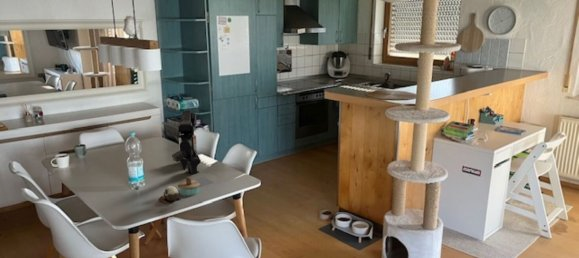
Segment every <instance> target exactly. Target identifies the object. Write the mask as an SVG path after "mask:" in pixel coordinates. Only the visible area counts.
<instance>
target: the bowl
mask: <svg viewBox="0 0 579 258" xmlns="http://www.w3.org/2000/svg"><path fill="white" fill-rule="evenodd" d="M178 192H179V194H180V196H181V195H182V196H193V195H196V194H199V192H200V187H197V188H195V189H189V190H185V189H180V188H179V187H178Z"/></svg>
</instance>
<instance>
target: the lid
mask: <svg viewBox="0 0 579 258" xmlns="http://www.w3.org/2000/svg"><path fill="white" fill-rule="evenodd" d="M199 186H200V183H199V182H198V181H195V179H192V177H191V176H186V177H185V180H182V181H180V182H179V183H178V184H177V187H178V189H179V188H180V189H185V190H189V189H195V188H197V187H199ZM199 188H200V187H199Z"/></svg>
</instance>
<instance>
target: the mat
mask: <svg viewBox="0 0 579 258" xmlns="http://www.w3.org/2000/svg"><path fill="white" fill-rule="evenodd" d="M194 180H195V181H198V182H199V183H200V186H199V188H200V187H204V186H207V185H211V184H215V181H212V180H211V179H208V178H207V177H205V176H203V177H198V178H195V179H194Z"/></svg>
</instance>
